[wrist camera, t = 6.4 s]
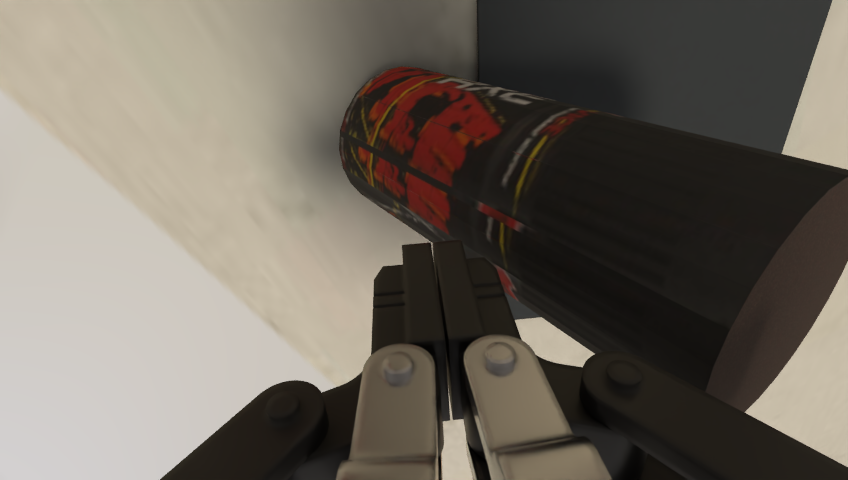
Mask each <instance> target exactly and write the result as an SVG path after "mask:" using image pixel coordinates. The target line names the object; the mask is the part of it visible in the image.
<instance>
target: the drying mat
mask: <svg viewBox="0 0 848 480" xmlns="http://www.w3.org/2000/svg"><path fill="white" fill-rule="evenodd" d="M831 3H832V0H477V34H478V82H479V83H483V84H488V85H492V86H496V87H500V88H505V89H509V90H513V91H517V92H521V93H526V94H530V95H534V96H538V97H543V98H547V99H551V100H555V101H559V102H564V103H568V104H572V105H576V106H581V107H585V108H589V109H593V110H597V111H602V112H606V113H610V114H614V115H619V116H623V117H627V118H631V119H635V120H640V121H644V122H648V123H652V124H657V125H661V126H665V127H669V128H673V129H678V130H682V131H686V132H690V133H695V134H699V135H703V136H707V137H711V138H716V139H720V140H724V141H728V142H733V143H737V144H741V145H745V146H749V147H754V148H758V149H762V150H766V151H771V152H775V153H779V154H781V153H782V150H783V147H784V144H785V141H786V138H787V135H788V132H789V129H790V126H791V123H792V120H793V117H794V114H795V111H796V108H797V105H798V102H799V99H800V96H801V93H802V90H803V87H804V84H805V81H806V78H807V75H808V72H809V69H810V66H811V63H812V60H813V57H814V54H815V51H816V48H817V45H818V42H819V39H820V36H821V33H822V30H823V27H824V24H825V21H826V18H827V15H828V12H829V9H830V6H831ZM505 296H506V297H507V300H508V303H509V306H510V309H511V311H512V314H513V317H514V320H517V319H526V318H536V317H541V316H539V315H538V314H536V313H535V312H533V311H532V310H530V309H529V308H528V307H526V306H525V305H523V304H522V303H520V302H519V301H517V300H516V299H514V298H513V297H511V296H510V295H509V294H507V293H506V292H505Z"/></svg>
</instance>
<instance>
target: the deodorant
mask: <svg viewBox="0 0 848 480" xmlns="http://www.w3.org/2000/svg"><path fill="white" fill-rule="evenodd" d="M339 151H340V156H341V161H342V166H343V169H344V171H345V173H346V175H347V177H348V179H349V181H350V183H351V184H352V185H353V186H354V187H355V188H356V189H357V190H358V191H359V192H360V193H361V194H362V195H364V196H365V197H367V198H368V199H369V200H371V201H372V202H374V203H375V204H377V205H378V206H380V207H381V208H383V209H384V210H386V211H387V212H388V213H390V214H391V215H393V216H394V217H396V218H397V219H399V220H400V221H402V222H403V223H405V224H406V225H408V226H409V227H410V228H412V229H413V230H415V231H416V232H418V233H419V234H421V235H422V236H424V237H425V238H427V239H428V240H429V241H431V242H432V243H433V242H441V241H452V240H462V243H463V247H464V251H465V255H466V259H470V258H480V257H485V258H486V259H487V260H488V261H489V262H490V263H491V264H492V265H493V266H495V267H496V268H497V271H498V274H499V277H500V280H501V284H502V285H503V288H504V291H505V292H506V293H507V294H509V295H510V296H511V297H513V298H514V299H516V300H517V301H519V302H520V303H522V304H523V305H525V306H526V307H528V308H529V309H530V310H532V311H533V312H535V313H536V314H538V315H539V316H541V317H542V318H544V319H545V320H547V321H548V322H550V323H551V324H552V325H554V326H555V327H557V328H558V329H560V330H561V331H563V332H564V333H566V334H567V335H569V336H570V337H571V338H573V339H574V340H576V341H577V342H579V343H580V344H582V345H583V346H585V347H586V348H588V349H589V350H590V351H592V352H593V353H595V354H597V353H600V352H604V351H621V352H626V353H630V354H633V355H636V356H638V357H640V358H642V359H644V360H646V361H648V362H650V363H652V364H654V365H656V366H657V367H659V368H661V369H663V370H665V371H667V372H669V373H671V374H672V375H674V376H676V377H678V378H680V379H682V380H684V381H686V382H688V383H689V384H691V385H693V386H695V387H697V388H699V389H701V390H703V391H705V392H706V393H708V394H710V395H712V396H714V397H716V398H718V399H720V400H722V401H723V402H725V403H727V404H729V405H731V406H733V407H735V408H737V409H738V410H740V411H742V412H745V411H746V410H747V409H748V408H749V407H750V406H751V405H752V404H753V403H754V402H755V401H756V400H757V399H758V398H759V397H760V396H761V395H762V394H763V392H764V391H765V390H766V389H767V388H768V386H769V385H770V384H771V383H772V382H773V381H774V379H775V378H776V377H777V376H778V374H779V373H780V372H781V370H782V369H783V368H784V366H785V365H786V364H787V362H788V361H789V360H790V358H791V357H792V356H793V354H794V353H795V351H796V350H797V348H798V347H799V345H800V344H801V342H802V341H803V339H804V338H805V336H806V335H807V333H808V332H809V330H810V329H811V327H812V326H813V324H814V322H815V321H816V319H817V317H818V316H819V314H820V312H821V311H822V309H823V307H824V306H825V304H826V302H827V300H828V299H829V297H830V295H831V293H832V291H833V289H834V287H835V285H836V284H837V282H838V280H839V278H840V276H841V274H842V272H843V270H844V268H845V266H846V263H847V261H848V170H846V169H842V168H838V167H834V166H830V165H825V164H821V163H817V162H813V161H808V160H804V159H800V158H796V157H792V156H787V155H783V154H779V153H775V152H771V151H766V150H762V149H758V148H754V147H749V146H745V145H741V144H737V143H733V142H728V141H724V140H720V139H716V138H711V137H707V136H703V135H699V134H695V133H690V132H686V131H682V130H678V129H673V128H669V127H665V126H661V125H657V124H652V123H648V122H644V121H640V120H635V119H631V118H627V117H623V116H619V115H614V114H610V113H606V112H602V111H597V110H593V109H589V108H585V107H581V106H576V105H572V104H568V103H564V102H559V101H555V100H551V99H547V98H543V97H538V96H534V95H530V94H526V93H521V92H517V91H513V90H509V89H505V88H500V87H496V86H492V85H488V84H483V83H479V82H475V81H471V80H467V79H462V78H458V77H454V76H450V75H445V74H441V73H437V72H433V71H429V70H424V69H420V68H414V67H402V66H401V67H397V68H393V69H389V70H385V71H383V72H382V73H380V74H378V75H377V76H375V77H373V78H372V79H370V80H369V81H368V82H367V83H366V84H365V85H364V86H363V87H362V88H361V89H360V90H359V91H358V92H357V93H356V95H355V96H354V98H353V100H352V101H351V103H350V105H349V107H348V108H347V110H346V113H345V116H344V120H343V123H342V126H341V130H340V145H339Z"/></svg>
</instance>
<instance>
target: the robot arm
mask: <svg viewBox="0 0 848 480" xmlns="http://www.w3.org/2000/svg"><path fill="white" fill-rule="evenodd" d="M402 252H403V265H395V266H384V267H382V269H381V270H380V272H379V273H378V275H377V276H376V278H375V279H374V297H373V324H372V351H371V356H370V357H369V358H368V360H367V361H366V363H365V365H364V368H363V371H362V372H361V373H360V374H359V375H358V376H357V377H356V378H354V379H353V380H351V381H349V382H348V383H346V384H343V385H341V386H339V387H336V388H333V389H330V390H328V391H325V392H322V393H321V391H320V390H319V389H318V388H317V387H315V386H314V385H313V384H311V383H308V382H304V381H286V382H282V383H279V384H276V385H274V386H272V387H270V388H268V389H266V390H265V391H263V392H262V393H261V394H259V395H258V396H257V397H256V398H255V399H254V400H252V401H251V402H250V403H249V404H248V405H246V406H245V407H244V408H243V409H242V410H241V411H239V412H238V413H237V414H236V415H235V416H234V417H232V418H231V419H230V420H229V421H228V422H227V423H226V424H224V425H223V426H222V427H221V428H220V429H219V430H218V431H216V432H215V433H214V434H213V435H211V436H210V437H209V438H208V439H207V440H206V441H204V442H203V443H202V444H201V445H200V446H199V447H198V448H196V449H195V450H194V451H193V452H192V453H190V454H189V455H188V456H187V457H186V458H185V459H183V460H182V461H181V462H180V463H179V464H178V465H176V466H175V467H174V468H173V469H172V470H171V471H169V472H168V473H167V474H166V475H165V476H164V477H162V478H161V479H160V480H442V450H443V445H444V435H443V421H449V420H450V413H449V396H448V388H449V395H450V402H451V409H452V416H453V420H457V419H464V425H465V431H466V448H467V456H468V460H469V464H470V468H471V472H472V476H473V480H848V467H846V466H844V465H842V464H840V463H838V462H837V461H835V460H833V459H831V458H829V457H827V456H825V455H823V454H821V453H820V452H818V451H816V450H814V449H812V448H810V447H808V446H806V445H804V444H803V443H801V442H799V441H797V440H795V439H793V438H791V437H789V436H788V435H786V434H784V433H782V432H780V431H778V430H776V429H774V428H772V427H771V426H769V425H767V424H765V423H763V422H761V421H759V420H757V419H755V418H754V417H752V416H750V415H748V414H746V413H744V412H742V411H740V410H738V409H737V408H735V407H733V406H731V405H729V404H727V403H725V402H723V401H722V400H720V399H718V398H716V397H714V396H712V395H710V394H708V393H706V392H705V391H703V390H701V389H699V388H697V387H695V386H693V385H691V384H689V383H688V382H686V381H684V380H682V379H680V378H678V377H676V376H674V375H672V374H671V373H669V372H667V371H665V370H663V369H661V368H659V367H657V366H656V365H654V364H652V363H650V362H648V361H646V360H644V359H642V358H640V357H638V356H636V355H633V354H630V353H626V352H621V351H604V352H600V353H597V354H595V355H593V356H591V357H590V358H589V359H588V360H587V361H586V362H585V364H584V366H583V368H582V367H576V366H569V365H563V364H557V363H553V362H550V361H547V360H544V359H542V358H540V357H538V356H537V355H535V353H534V351H533V350H532V349H531V347H530V346H529V345H527V344H526V343H525V342H523V341H522V340H521V337H520V335H519V332H518V329H517V326H516V323H515V320H514V317H513V314H512V311H511V309H510V306H509V303H508V300H507V297H506V296H505V291H504V288H503V285H502V284H501V280H500V277H499V274H498V271H497V268H496V267H495V266H493V265H492V264H491V263H490V262H489V261H488V260H487V259H486V258H485V257H480V258H470V259H466V255H465V251H464V247H463V243H462V240H452V241H441V242H433V255H432V249H431V243H420V244H409V245H402ZM433 257H434V262H433Z"/></svg>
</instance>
